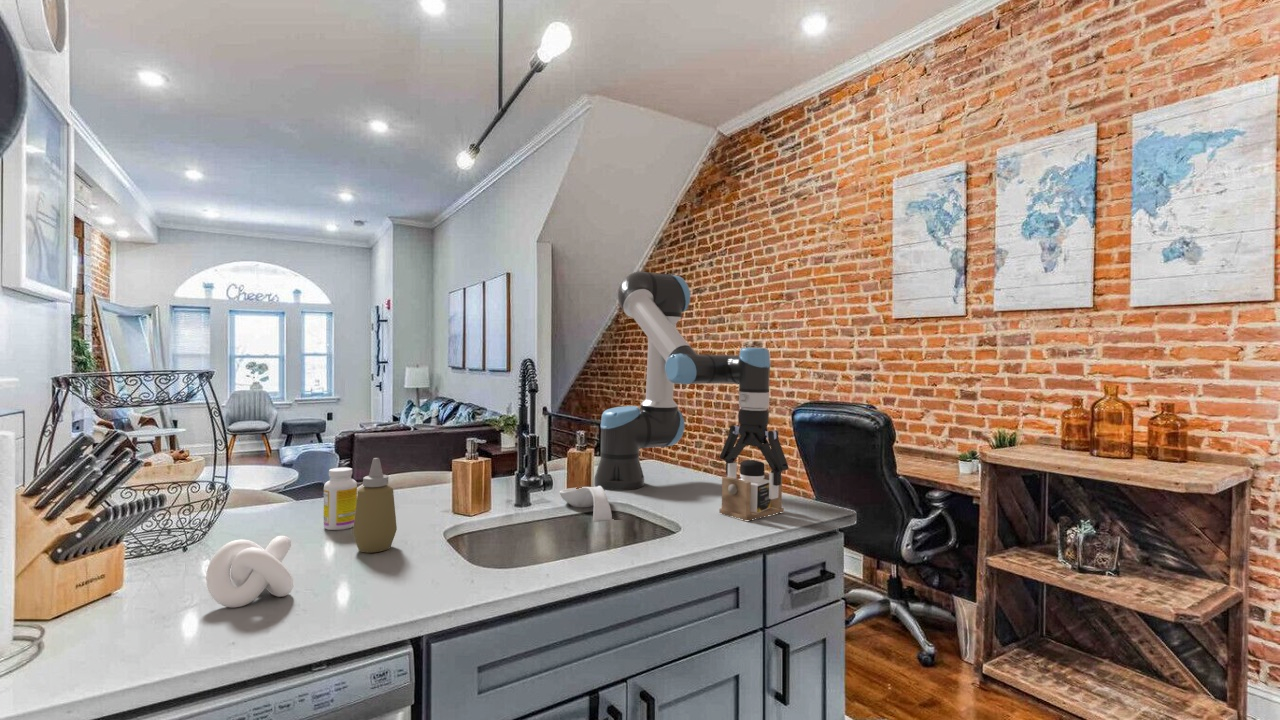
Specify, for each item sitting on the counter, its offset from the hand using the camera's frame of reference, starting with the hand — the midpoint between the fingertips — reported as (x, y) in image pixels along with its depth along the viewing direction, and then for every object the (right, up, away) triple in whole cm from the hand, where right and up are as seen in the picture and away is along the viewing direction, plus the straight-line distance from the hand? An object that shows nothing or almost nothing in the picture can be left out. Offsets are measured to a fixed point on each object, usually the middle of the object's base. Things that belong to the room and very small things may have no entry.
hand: (752, 493), depth 150 cm
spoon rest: (-41, -5, +1) cm, 42 cm away
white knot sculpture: (-89, -4, -55) cm, 105 cm away
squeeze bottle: (-81, -4, -32) cm, 87 cm away
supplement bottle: (-95, -4, -17) cm, 97 cm away
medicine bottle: (0, -4, 0) cm, 4 cm away
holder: (0, -5, 0) cm, 5 cm away
